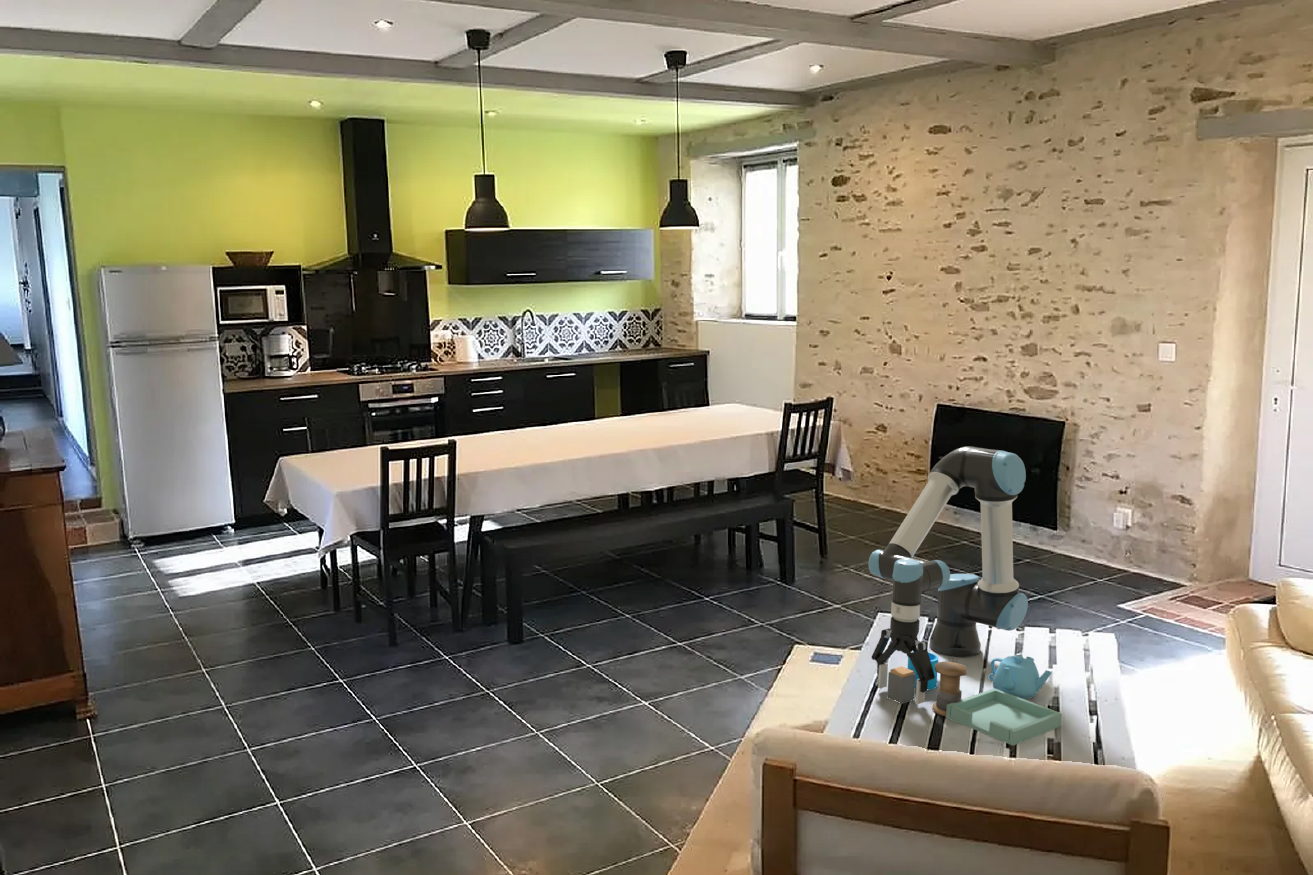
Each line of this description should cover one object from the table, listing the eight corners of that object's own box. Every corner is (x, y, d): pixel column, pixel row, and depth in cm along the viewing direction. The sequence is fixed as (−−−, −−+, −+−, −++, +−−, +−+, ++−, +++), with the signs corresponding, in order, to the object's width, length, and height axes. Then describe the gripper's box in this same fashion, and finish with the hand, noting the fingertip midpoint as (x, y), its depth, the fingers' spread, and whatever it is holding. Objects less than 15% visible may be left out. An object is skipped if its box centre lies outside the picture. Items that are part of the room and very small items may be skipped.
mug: (927, 692, 287) (929, 663, 286) (901, 684, 292) (902, 656, 291) (948, 681, 296) (950, 653, 294) (922, 673, 301) (924, 646, 300)
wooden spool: (945, 702, 280) (948, 659, 278) (970, 712, 274) (973, 668, 272) (925, 709, 275) (928, 665, 273) (950, 719, 269) (953, 674, 267)
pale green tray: (993, 700, 282) (994, 688, 281) (1060, 726, 266) (1061, 713, 266) (946, 717, 270) (946, 704, 270) (1013, 745, 254) (1014, 732, 254)
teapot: (1052, 707, 278) (1055, 666, 276) (1001, 707, 278) (1004, 666, 276) (1030, 685, 293) (1033, 646, 292) (981, 685, 293) (984, 646, 291)
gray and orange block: (899, 693, 285) (901, 665, 284) (914, 699, 281) (915, 671, 280) (887, 697, 282) (888, 669, 281) (901, 704, 278) (903, 675, 277)
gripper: (861, 608, 286) (857, 683, 289) (933, 633, 267) (928, 713, 270) (879, 603, 291) (875, 677, 294) (951, 627, 271) (946, 706, 274)
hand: (900, 694), depth 282 cm, fingers open, 12 cm apart
